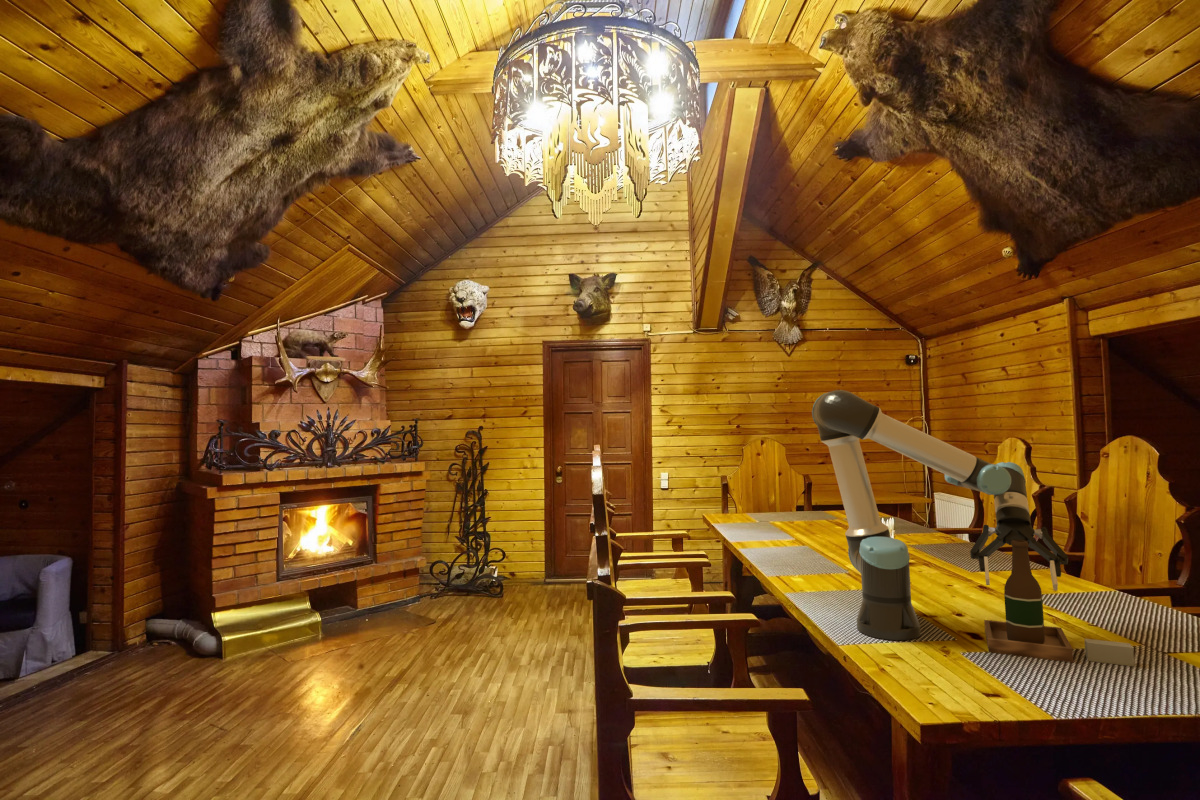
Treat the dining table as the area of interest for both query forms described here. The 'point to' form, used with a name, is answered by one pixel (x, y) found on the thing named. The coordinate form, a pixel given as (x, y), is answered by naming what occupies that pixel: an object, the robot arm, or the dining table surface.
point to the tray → (1050, 649)
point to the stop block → (1109, 652)
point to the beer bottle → (1023, 599)
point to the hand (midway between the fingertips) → (1020, 584)
